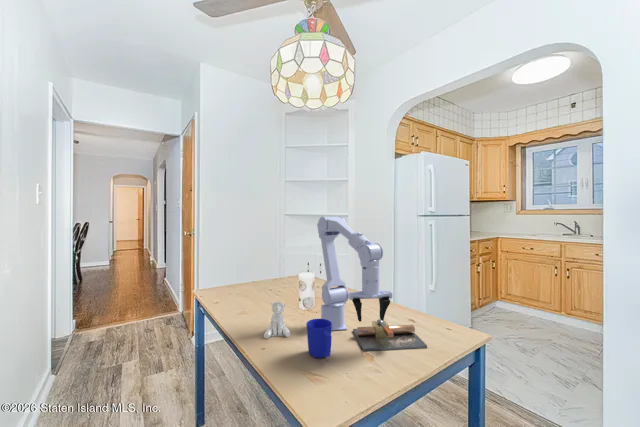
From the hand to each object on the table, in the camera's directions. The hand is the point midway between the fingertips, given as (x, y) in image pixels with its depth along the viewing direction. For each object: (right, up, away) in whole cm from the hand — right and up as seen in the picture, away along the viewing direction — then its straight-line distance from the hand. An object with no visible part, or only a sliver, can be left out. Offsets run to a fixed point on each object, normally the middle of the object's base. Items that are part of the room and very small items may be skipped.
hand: (370, 319), depth 97 cm
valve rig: (+7, -9, +7) cm, 14 cm away
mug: (-17, -10, -6) cm, 20 cm away
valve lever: (+6, -5, +4) cm, 8 cm away
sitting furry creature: (-33, -10, +12) cm, 37 cm away
